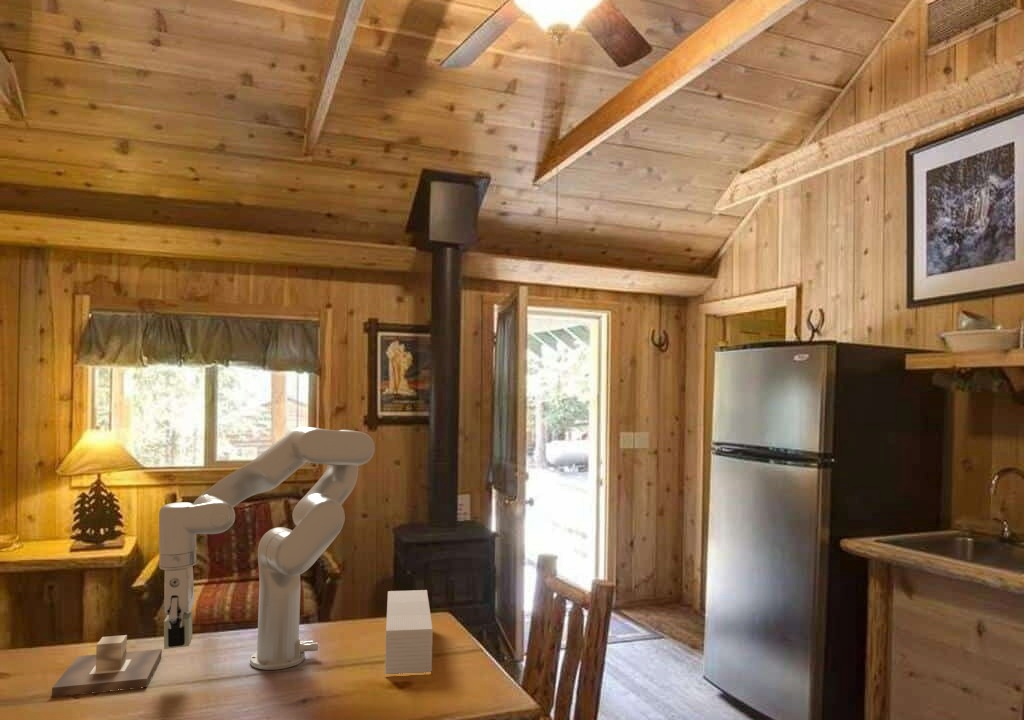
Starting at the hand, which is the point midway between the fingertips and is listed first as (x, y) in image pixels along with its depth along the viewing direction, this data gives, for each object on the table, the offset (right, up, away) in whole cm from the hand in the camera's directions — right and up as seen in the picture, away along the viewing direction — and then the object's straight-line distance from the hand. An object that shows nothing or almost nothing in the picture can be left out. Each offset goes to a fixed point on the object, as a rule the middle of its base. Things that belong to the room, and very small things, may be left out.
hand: (178, 640), depth 156 cm
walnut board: (-17, -9, +3) cm, 19 cm away
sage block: (0, -1, 0) cm, 1 cm away
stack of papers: (+48, -12, +21) cm, 54 cm away
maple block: (-17, -7, +3) cm, 18 cm away
